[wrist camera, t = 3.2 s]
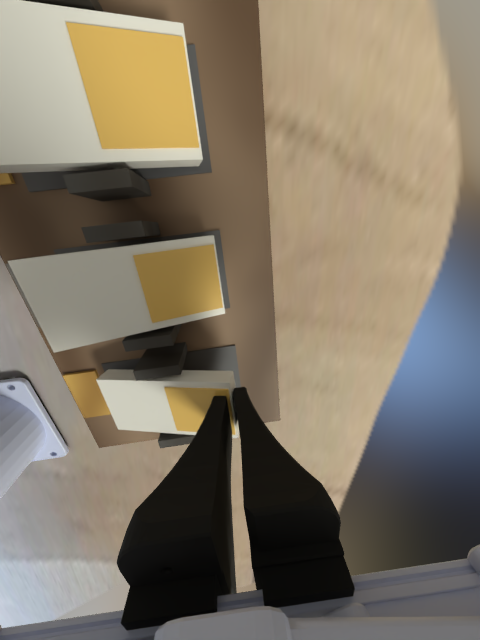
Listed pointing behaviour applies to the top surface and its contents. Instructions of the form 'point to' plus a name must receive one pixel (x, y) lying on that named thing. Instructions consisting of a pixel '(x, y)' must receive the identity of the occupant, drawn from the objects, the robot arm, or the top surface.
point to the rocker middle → (121, 289)
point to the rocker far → (166, 400)
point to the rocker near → (93, 91)
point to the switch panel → (171, 221)
